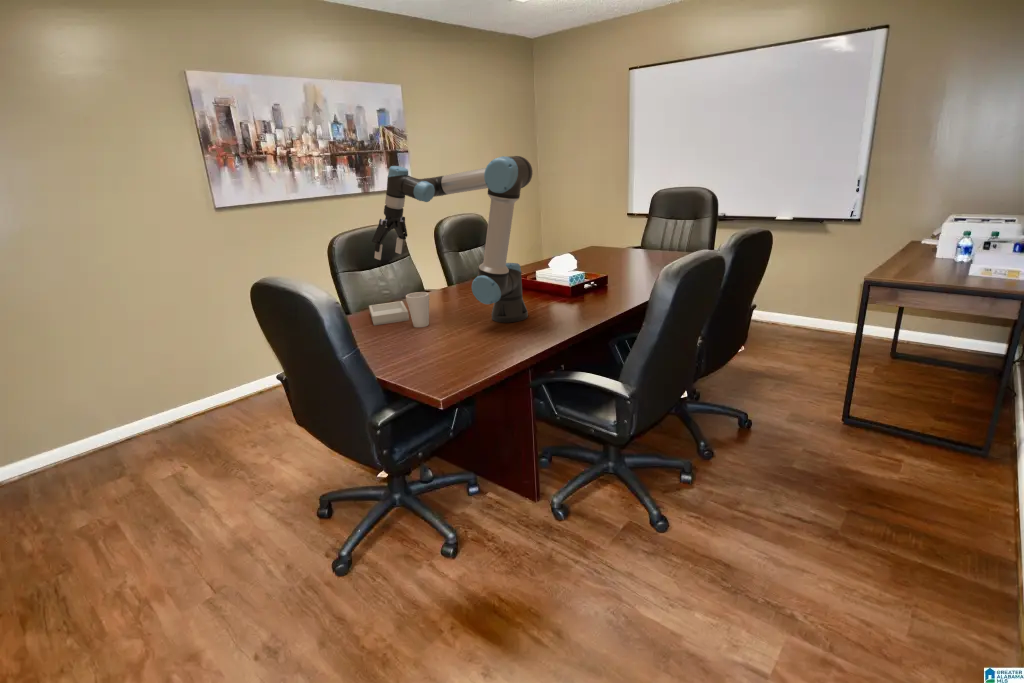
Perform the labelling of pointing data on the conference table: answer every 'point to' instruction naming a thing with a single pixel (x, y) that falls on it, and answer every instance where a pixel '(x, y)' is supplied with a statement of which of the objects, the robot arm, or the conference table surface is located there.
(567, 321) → the conference table surface
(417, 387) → the conference table surface
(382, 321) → the grey tray
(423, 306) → the foam cup
